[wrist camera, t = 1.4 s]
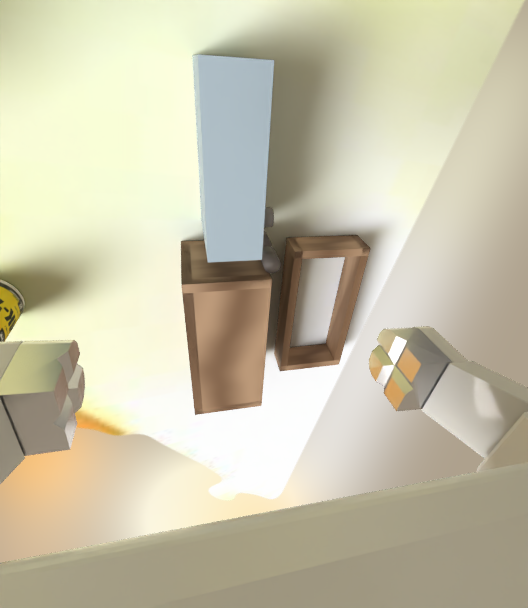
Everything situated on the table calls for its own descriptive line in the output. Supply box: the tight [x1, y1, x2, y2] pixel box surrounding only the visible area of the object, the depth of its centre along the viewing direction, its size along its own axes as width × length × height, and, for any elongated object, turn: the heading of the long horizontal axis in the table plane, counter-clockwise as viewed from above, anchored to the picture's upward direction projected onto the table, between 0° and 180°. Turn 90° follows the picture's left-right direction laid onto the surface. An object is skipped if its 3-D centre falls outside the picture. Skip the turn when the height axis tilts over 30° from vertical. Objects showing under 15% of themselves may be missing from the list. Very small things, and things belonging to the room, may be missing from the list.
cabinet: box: [181, 231, 370, 415], centre depth 34 cm, size 18×17×8 cm
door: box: [193, 55, 274, 262], centre depth 24 cm, size 5×12×8 cm, turn 176°
